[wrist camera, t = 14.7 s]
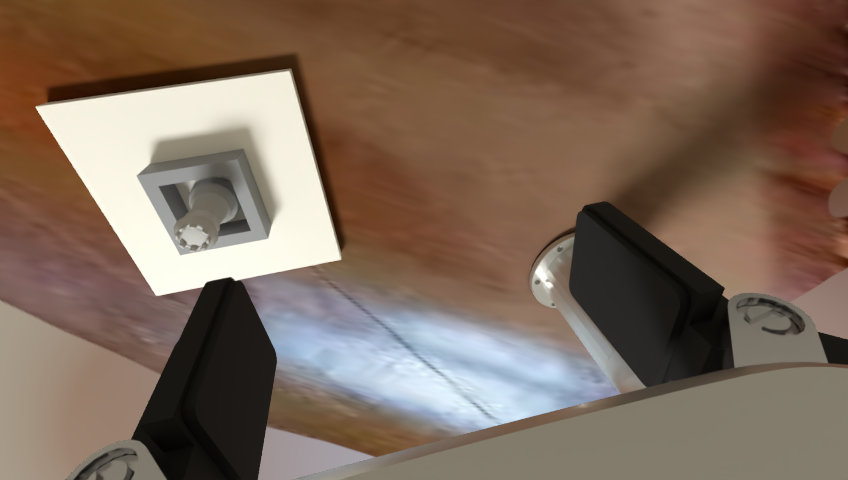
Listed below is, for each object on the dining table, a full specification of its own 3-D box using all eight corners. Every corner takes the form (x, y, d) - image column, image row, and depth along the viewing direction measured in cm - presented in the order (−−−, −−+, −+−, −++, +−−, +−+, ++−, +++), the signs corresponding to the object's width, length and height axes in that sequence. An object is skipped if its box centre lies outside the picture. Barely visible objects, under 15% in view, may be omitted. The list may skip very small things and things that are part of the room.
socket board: (291, 68, 34) (286, 76, 30) (341, 252, 45) (341, 274, 41) (47, 102, 32) (10, 115, 28) (161, 287, 43) (145, 313, 39)
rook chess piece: (209, 223, 38) (183, 269, 32) (181, 184, 36) (146, 226, 29) (252, 207, 38) (234, 251, 32) (226, 168, 36) (202, 206, 29)
